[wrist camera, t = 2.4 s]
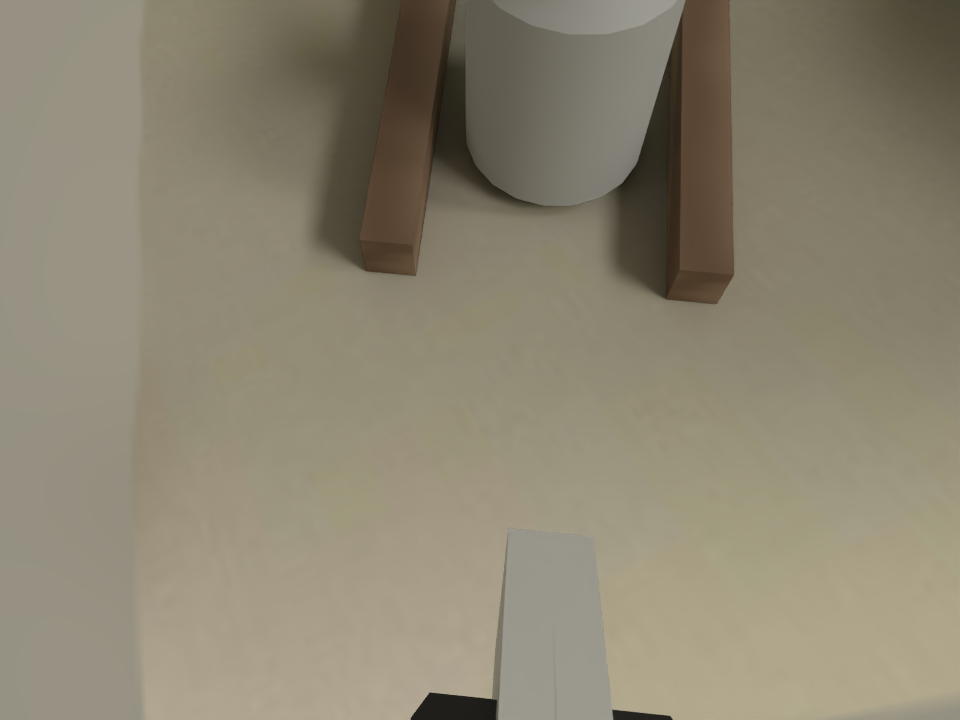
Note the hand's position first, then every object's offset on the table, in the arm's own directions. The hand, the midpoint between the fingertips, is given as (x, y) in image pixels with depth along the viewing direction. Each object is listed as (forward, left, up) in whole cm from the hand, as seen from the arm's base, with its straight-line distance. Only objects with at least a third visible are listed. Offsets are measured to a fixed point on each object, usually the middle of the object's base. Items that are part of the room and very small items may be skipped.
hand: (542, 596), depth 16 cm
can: (0, -21, -15) cm, 26 cm away
